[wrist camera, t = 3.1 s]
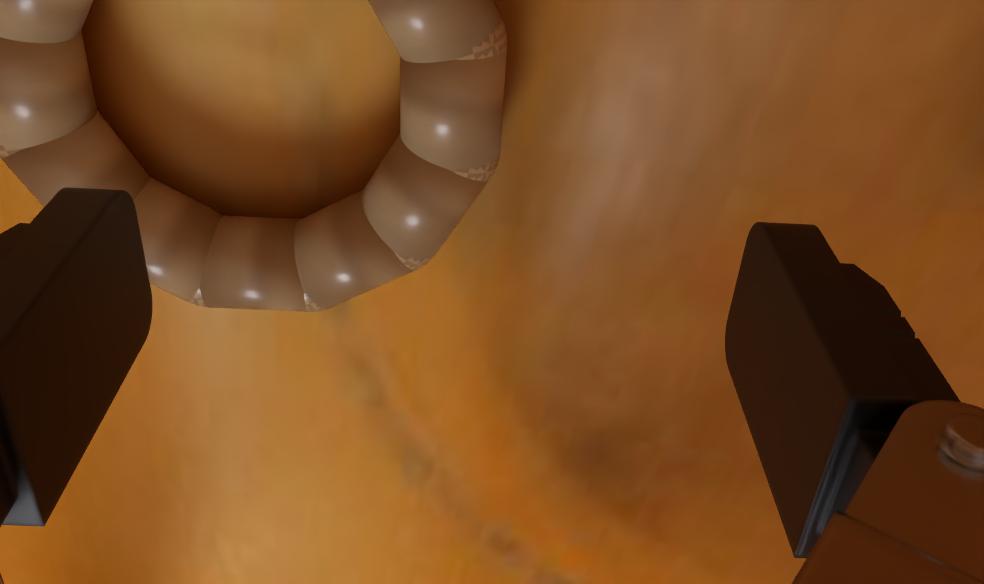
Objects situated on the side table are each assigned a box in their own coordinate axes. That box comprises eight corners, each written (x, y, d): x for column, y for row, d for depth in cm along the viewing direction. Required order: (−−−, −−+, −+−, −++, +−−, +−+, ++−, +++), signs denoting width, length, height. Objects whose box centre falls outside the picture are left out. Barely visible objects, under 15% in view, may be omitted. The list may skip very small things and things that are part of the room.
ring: (56, 268, 21) (17, 318, 19) (-69, -234, 15) (-139, -228, 13) (489, 287, 21) (490, 337, 19) (520, -198, 15) (524, -187, 14)
